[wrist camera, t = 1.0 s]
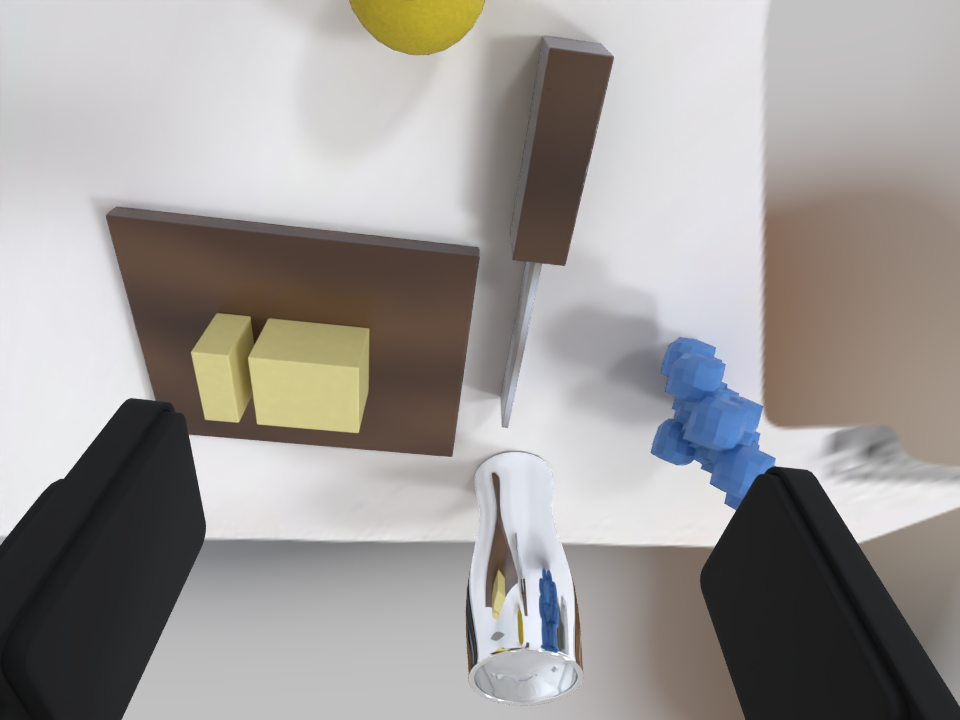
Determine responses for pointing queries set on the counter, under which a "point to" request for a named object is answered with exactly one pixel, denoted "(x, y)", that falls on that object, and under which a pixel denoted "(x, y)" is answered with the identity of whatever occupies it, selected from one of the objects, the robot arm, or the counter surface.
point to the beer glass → (520, 589)
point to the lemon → (418, 22)
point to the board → (304, 316)
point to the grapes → (710, 421)
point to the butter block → (310, 375)
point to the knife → (553, 172)
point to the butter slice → (224, 367)
